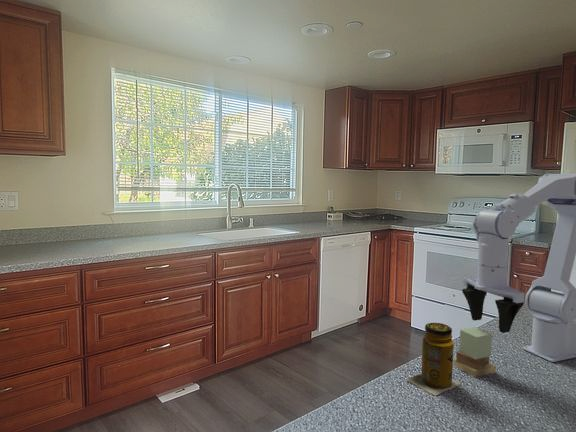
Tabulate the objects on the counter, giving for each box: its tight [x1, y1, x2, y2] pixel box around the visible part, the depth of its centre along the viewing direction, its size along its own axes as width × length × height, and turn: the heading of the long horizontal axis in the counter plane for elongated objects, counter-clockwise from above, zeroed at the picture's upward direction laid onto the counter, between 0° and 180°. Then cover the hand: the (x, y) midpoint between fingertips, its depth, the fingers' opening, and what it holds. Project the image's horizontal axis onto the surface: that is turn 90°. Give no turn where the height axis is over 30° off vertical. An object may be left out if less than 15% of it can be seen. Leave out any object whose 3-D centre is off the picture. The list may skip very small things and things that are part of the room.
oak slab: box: [453, 358, 497, 378], centre depth 88 cm, size 6×6×2 cm
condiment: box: [405, 322, 462, 397], centre depth 81 cm, size 7×8×12 cm
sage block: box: [459, 326, 493, 359], centre depth 87 cm, size 4×4×5 cm
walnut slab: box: [455, 350, 490, 370], centre depth 88 cm, size 5×5×2 cm
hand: (490, 325), depth 86 cm, fingers open, 7 cm apart
